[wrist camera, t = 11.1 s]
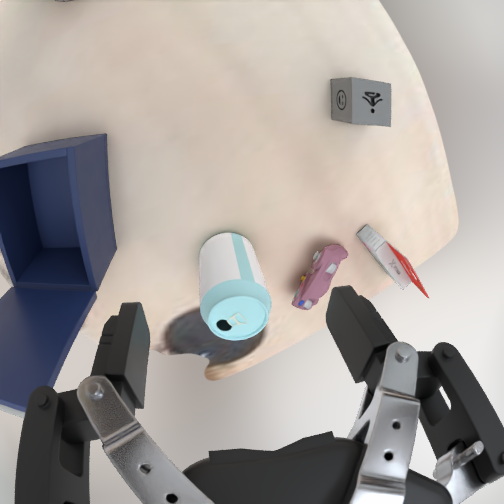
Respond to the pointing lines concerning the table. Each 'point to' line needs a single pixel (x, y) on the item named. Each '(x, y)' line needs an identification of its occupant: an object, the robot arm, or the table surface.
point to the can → (232, 288)
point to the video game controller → (319, 276)
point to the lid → (36, 339)
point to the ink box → (390, 259)
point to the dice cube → (361, 101)
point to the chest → (57, 214)
